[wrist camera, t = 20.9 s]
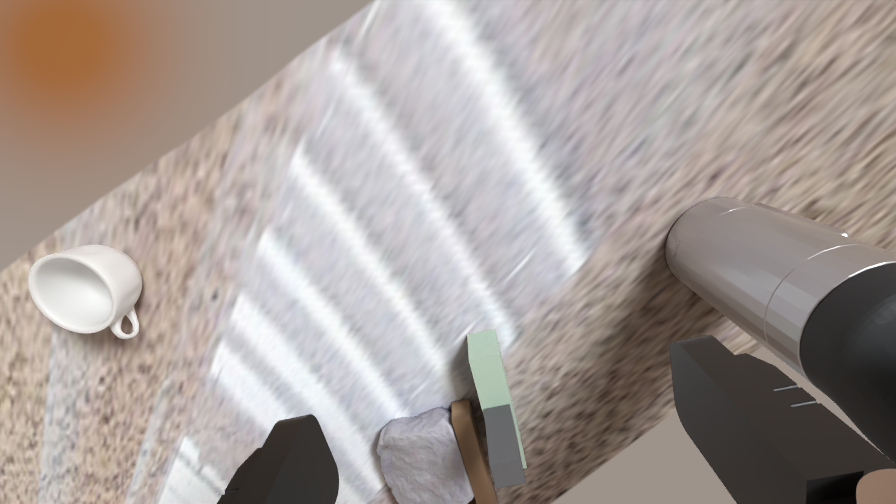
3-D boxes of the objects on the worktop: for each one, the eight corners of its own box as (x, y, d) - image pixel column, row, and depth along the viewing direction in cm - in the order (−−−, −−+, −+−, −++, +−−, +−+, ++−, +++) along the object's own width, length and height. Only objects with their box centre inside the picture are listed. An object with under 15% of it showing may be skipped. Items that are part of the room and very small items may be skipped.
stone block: (407, 484, 55) (482, 481, 52) (394, 518, 50) (476, 517, 47) (377, 407, 51) (455, 399, 49) (361, 436, 47) (446, 429, 44)
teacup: (61, 256, 43) (8, 276, 38) (120, 222, 42) (74, 239, 37) (127, 335, 46) (86, 364, 41) (184, 306, 45) (149, 332, 40)
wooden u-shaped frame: (469, 398, 48) (470, 417, 45) (498, 504, 53) (501, 527, 50) (284, 435, 50) (273, 455, 47) (329, 533, 55) (322, 557, 52)
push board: (467, 334, 45) (471, 410, 34) (494, 328, 45) (509, 403, 34) (494, 438, 50) (506, 536, 39) (520, 433, 50) (539, 530, 38)
